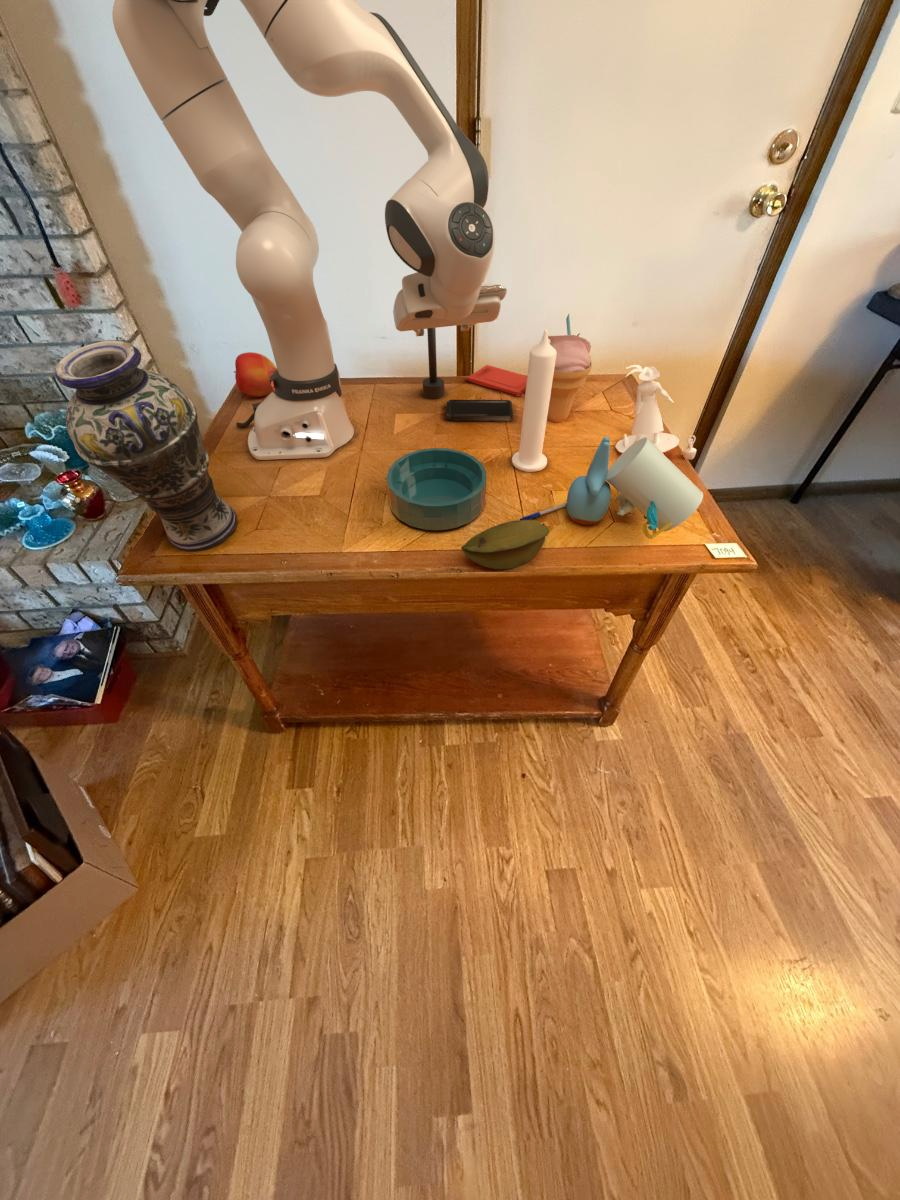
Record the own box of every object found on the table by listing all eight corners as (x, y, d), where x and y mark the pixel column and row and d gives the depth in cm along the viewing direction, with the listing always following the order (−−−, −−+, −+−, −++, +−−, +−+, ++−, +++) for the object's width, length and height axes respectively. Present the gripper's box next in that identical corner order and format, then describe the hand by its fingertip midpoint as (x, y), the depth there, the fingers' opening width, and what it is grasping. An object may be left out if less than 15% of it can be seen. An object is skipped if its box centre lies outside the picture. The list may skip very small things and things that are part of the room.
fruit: (531, 588, 77) (535, 557, 72) (460, 569, 80) (458, 539, 75) (550, 541, 84) (554, 510, 79) (483, 526, 87) (483, 496, 82)
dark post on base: (425, 400, 118) (421, 318, 104) (421, 390, 121) (416, 309, 108) (446, 397, 119) (445, 315, 105) (441, 387, 122) (439, 307, 109)
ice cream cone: (524, 410, 114) (534, 315, 99) (567, 402, 116) (583, 309, 101) (545, 433, 107) (559, 335, 92) (589, 425, 109) (610, 328, 94)
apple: (282, 353, 114) (236, 346, 109) (284, 397, 117) (239, 392, 112) (272, 358, 122) (228, 351, 117) (274, 399, 125) (231, 395, 120)
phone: (447, 399, 115) (511, 399, 115) (447, 404, 116) (511, 404, 116) (446, 416, 110) (513, 416, 110) (446, 421, 111) (512, 421, 111)
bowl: (399, 541, 84) (396, 513, 80) (383, 482, 96) (379, 455, 91) (497, 524, 87) (499, 496, 83) (470, 469, 99) (470, 442, 94)
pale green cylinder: (580, 515, 80) (638, 568, 82) (636, 472, 71) (699, 532, 73) (605, 457, 93) (654, 505, 95) (655, 414, 84) (708, 467, 86)
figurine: (692, 447, 104) (701, 345, 93) (700, 472, 95) (710, 361, 84) (615, 455, 109) (614, 358, 98) (614, 478, 100) (614, 375, 89)
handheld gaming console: (537, 383, 123) (487, 368, 129) (537, 378, 122) (487, 364, 128) (518, 397, 118) (467, 381, 124) (518, 392, 117) (467, 377, 123)
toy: (629, 429, 80) (602, 505, 91) (585, 422, 81) (564, 498, 92) (630, 460, 73) (601, 539, 84) (582, 452, 74) (560, 531, 85)
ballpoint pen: (518, 517, 87) (518, 522, 88) (520, 519, 86) (520, 524, 87) (567, 501, 90) (567, 506, 91) (570, 503, 89) (570, 508, 90)
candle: (517, 474, 97) (532, 340, 78) (507, 455, 102) (519, 324, 83) (551, 469, 98) (574, 336, 79) (540, 451, 103) (559, 320, 84)
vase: (171, 580, 80) (38, 417, 55) (139, 520, 88) (10, 356, 64) (265, 532, 85) (181, 364, 61) (227, 480, 93) (139, 314, 69)
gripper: (506, 267, 88) (487, 309, 102) (393, 277, 85) (389, 319, 98) (512, 303, 88) (493, 340, 102) (400, 315, 85) (395, 351, 99)
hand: (441, 330), depth 100 cm, fingers open, 8 cm apart
